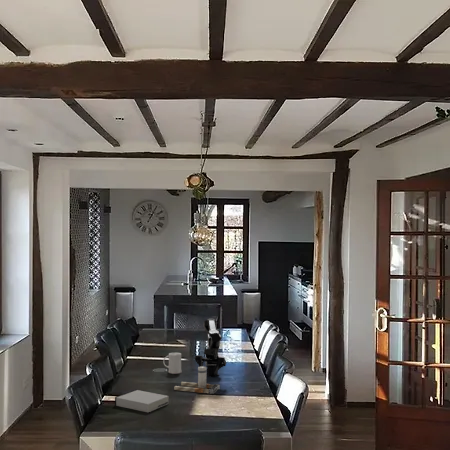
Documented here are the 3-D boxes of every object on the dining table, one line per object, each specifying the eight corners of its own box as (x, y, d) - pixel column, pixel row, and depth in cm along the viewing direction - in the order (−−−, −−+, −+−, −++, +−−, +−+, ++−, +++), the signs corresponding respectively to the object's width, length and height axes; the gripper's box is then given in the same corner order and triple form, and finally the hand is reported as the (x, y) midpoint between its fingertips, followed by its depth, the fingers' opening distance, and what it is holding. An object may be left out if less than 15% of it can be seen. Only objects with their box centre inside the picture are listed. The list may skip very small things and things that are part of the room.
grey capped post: (202, 388, 347) (202, 366, 347) (208, 389, 343) (208, 367, 343) (196, 389, 344) (196, 367, 344) (201, 391, 340) (201, 368, 340)
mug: (162, 373, 381) (162, 354, 381) (164, 370, 390) (164, 352, 390) (180, 373, 380) (180, 355, 380) (182, 370, 389) (182, 352, 389)
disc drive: (136, 398, 328) (136, 389, 328) (168, 404, 316) (168, 395, 316) (114, 406, 313) (114, 396, 313) (148, 413, 301) (148, 403, 301)
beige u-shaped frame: (174, 390, 343) (174, 385, 343) (181, 385, 353) (181, 380, 353) (213, 393, 335) (213, 389, 335) (219, 388, 346) (219, 384, 346)
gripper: (195, 341, 359) (188, 364, 348) (224, 344, 353) (218, 366, 342) (200, 352, 366) (193, 374, 356) (229, 354, 360) (222, 377, 350)
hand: (206, 372), depth 351 cm, fingers open, 9 cm apart
